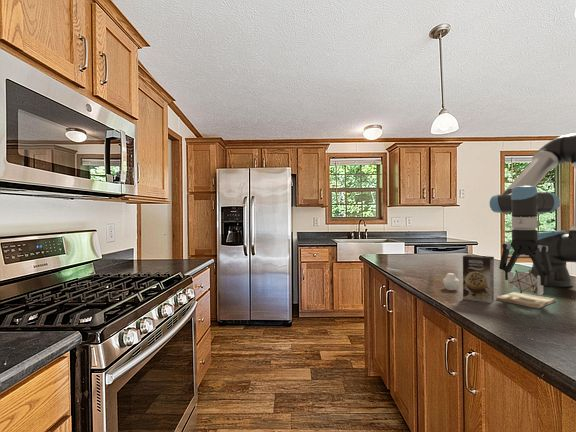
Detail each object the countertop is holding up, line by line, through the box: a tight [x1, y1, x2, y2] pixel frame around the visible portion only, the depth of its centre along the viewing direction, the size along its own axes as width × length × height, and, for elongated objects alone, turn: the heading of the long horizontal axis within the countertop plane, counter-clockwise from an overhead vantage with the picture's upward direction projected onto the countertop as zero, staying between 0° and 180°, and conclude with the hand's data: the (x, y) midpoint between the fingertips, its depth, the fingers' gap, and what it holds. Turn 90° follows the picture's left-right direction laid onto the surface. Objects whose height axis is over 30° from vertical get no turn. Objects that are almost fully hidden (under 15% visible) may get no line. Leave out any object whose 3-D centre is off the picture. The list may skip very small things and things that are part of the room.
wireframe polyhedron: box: [509, 269, 537, 294], centre depth 117 cm, size 9×8×10 cm
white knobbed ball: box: [442, 272, 460, 291], centre depth 136 cm, size 6×6×7 cm
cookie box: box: [462, 254, 495, 304], centre depth 120 cm, size 9×6×16 cm
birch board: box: [495, 291, 556, 309], centre depth 117 cm, size 14×13×1 cm
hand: (525, 291), depth 117 cm, fingers closed on wireframe polyhedron, 9 cm apart
